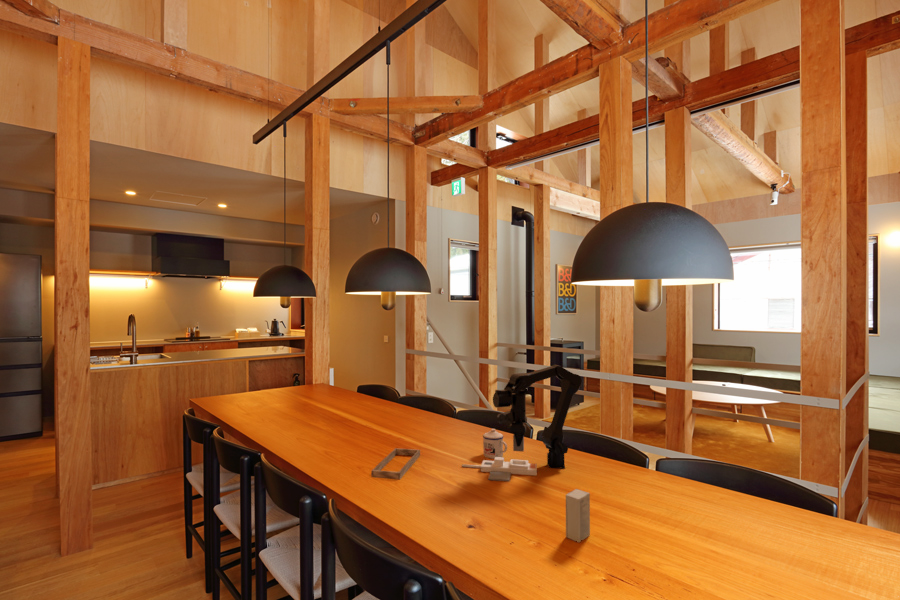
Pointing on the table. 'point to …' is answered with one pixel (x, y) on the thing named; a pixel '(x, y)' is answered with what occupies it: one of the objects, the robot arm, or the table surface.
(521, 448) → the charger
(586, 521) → the skincare box
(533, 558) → the table surface
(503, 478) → the coaster
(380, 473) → the wooden frame
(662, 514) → the table surface
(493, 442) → the teacup with lid
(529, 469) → the power strip
